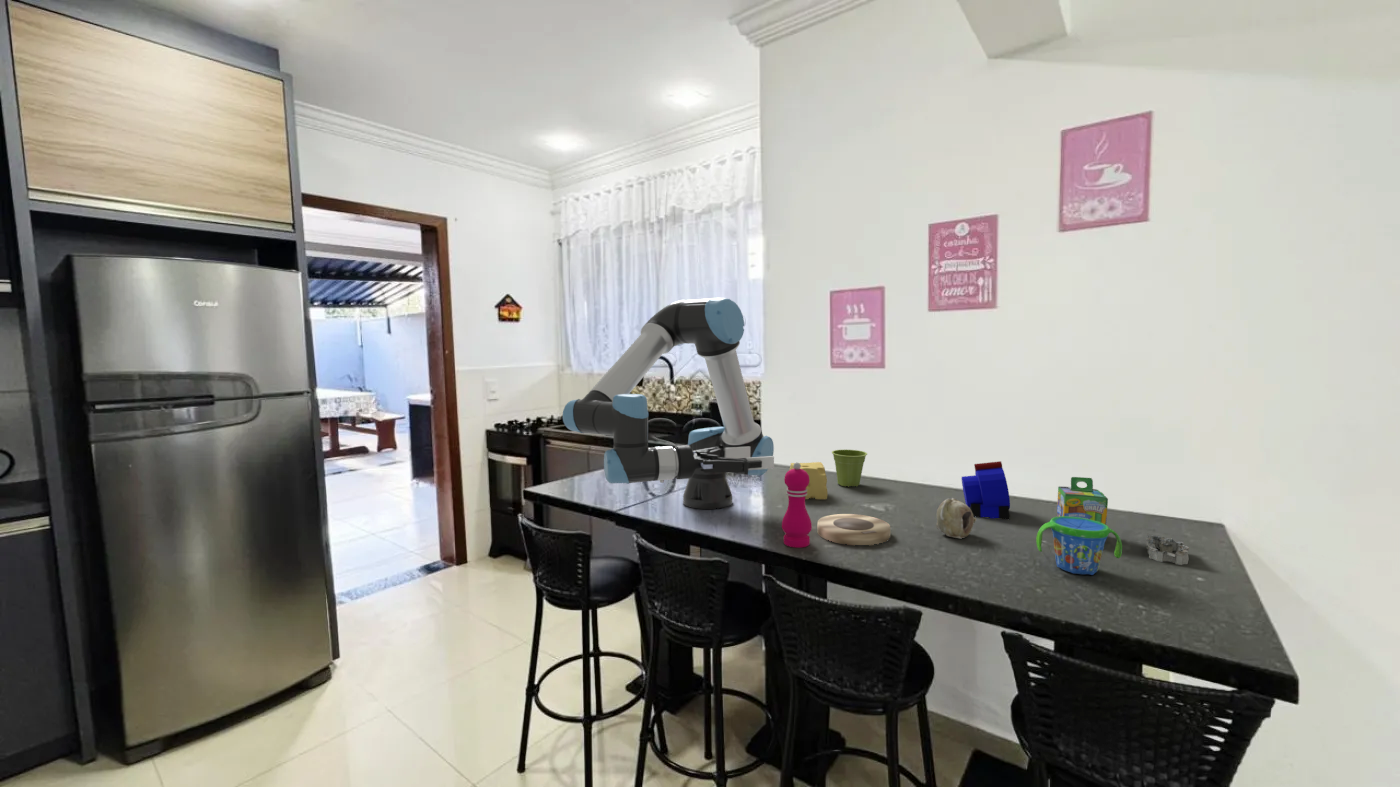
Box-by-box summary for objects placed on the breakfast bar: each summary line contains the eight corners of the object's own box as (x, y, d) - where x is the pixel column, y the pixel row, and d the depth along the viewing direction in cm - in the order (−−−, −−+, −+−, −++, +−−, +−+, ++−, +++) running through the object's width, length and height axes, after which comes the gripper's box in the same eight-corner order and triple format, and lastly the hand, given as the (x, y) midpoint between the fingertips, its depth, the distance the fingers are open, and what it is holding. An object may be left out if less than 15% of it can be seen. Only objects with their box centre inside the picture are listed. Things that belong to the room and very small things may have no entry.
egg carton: (1189, 568, 126) (1190, 549, 126) (1145, 560, 131) (1146, 542, 131) (1186, 553, 135) (1187, 536, 135) (1145, 547, 139) (1146, 530, 139)
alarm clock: (1012, 520, 161) (1014, 466, 160) (963, 516, 165) (964, 463, 163) (1004, 508, 172) (1006, 457, 171) (959, 504, 176) (960, 455, 175)
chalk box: (1062, 540, 144) (1064, 480, 143) (1055, 529, 152) (1057, 473, 151) (1106, 544, 141) (1109, 483, 139) (1096, 533, 149) (1099, 475, 148)
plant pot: (832, 488, 197) (832, 455, 196) (830, 480, 209) (830, 449, 208) (868, 489, 195) (869, 456, 194) (864, 481, 207) (865, 449, 206)
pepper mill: (811, 549, 139) (812, 466, 137) (780, 547, 140) (780, 465, 139) (811, 539, 146) (812, 460, 144) (782, 537, 147) (782, 459, 146)
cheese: (827, 499, 183) (828, 468, 182) (793, 500, 183) (793, 468, 182) (821, 491, 193) (821, 461, 193) (788, 491, 194) (788, 461, 193)
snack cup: (1113, 565, 127) (1115, 519, 127) (1128, 584, 118) (1131, 534, 117) (1031, 556, 133) (1033, 512, 132) (1039, 573, 123) (1041, 526, 123)
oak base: (804, 526, 156) (805, 517, 156) (864, 520, 161) (864, 511, 161) (840, 549, 139) (840, 538, 139) (905, 541, 144) (905, 530, 144)
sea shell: (941, 546, 147) (929, 510, 146) (940, 531, 155) (928, 496, 153) (981, 540, 143) (969, 503, 142) (978, 524, 151) (966, 489, 150)
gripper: (660, 468, 144) (741, 462, 151) (690, 492, 121) (784, 484, 127) (660, 438, 144) (741, 433, 150) (690, 455, 120) (784, 449, 126)
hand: (761, 456), depth 139 cm, fingers open, 13 cm apart
